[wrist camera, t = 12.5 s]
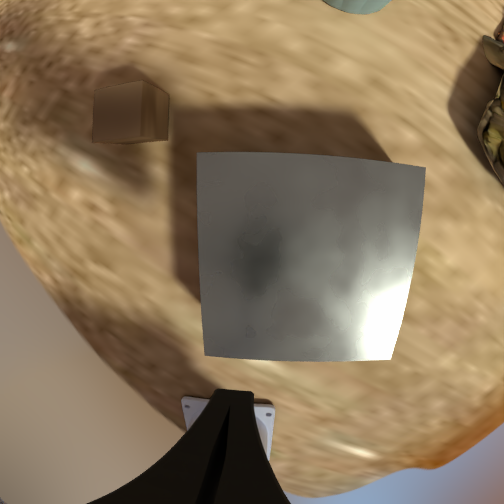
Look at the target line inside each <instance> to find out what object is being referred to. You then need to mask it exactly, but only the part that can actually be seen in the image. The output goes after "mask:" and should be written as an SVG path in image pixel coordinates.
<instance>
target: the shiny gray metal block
mask: <svg viewBox="0 0 504 504" xmlns="http://www.w3.org/2000/svg"><path fill="white" fill-rule="evenodd" d="M425 171H426V168H425V167H419V166H413V165H406V164H399V163H392V162H385V161H377V160H368V159H359V158H350V157H339V156H327V155H313V154H296V153H271V152H198V153H197V226H198V256H199V278H200V297H201V313H202V327H203V340H204V353H205V356H214V357H225V358H238V359H253V360H272V361H314V362H325V361H366V360H384V359H390V358H391V355H392V352H393V349H394V345H395V342H396V339H397V335H398V332H399V328H400V324H401V321H402V317H403V313H404V309H405V305H406V301H407V296H408V292H409V287H410V283H411V278H412V273H413V268H414V262H415V257H416V251H417V245H418V238H419V232H420V224H421V216H422V207H423V197H424V186H425Z"/></svg>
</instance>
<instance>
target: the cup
mask: <svg viewBox="0 0 504 504" xmlns="http://www.w3.org/2000/svg"><path fill="white" fill-rule="evenodd" d="M323 1H325V2H326V3H327V4H329V5H331V6H332V7H334V8H337V9H339V10H342V11H345V12H348V13H354V14H370V13H374V12H377V11H379V10H381V9H382V8H383V7H385V6H386V5H387V4H388V3H389V2H390V1H391V0H323Z"/></svg>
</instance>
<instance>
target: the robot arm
mask: <svg viewBox="0 0 504 504" xmlns="http://www.w3.org/2000/svg"><path fill="white" fill-rule="evenodd" d="M181 403H182V408H183V413H184V418H185V422H186V427H187V432H186V433H185V434H184V435H183V436H182V437H181V439H180V440H179V441H178V442H177V443H176V444H175V445H174V446H173V447H172V448H171V449H170V450H169V451H168V452H167V453H166V454H165V455H164V456H163V457H162V458H161V459H160V460H158V461H157V462H156V463H155V464H154V465H152V466H151V467H150V468H149V469H147V470H146V471H145V472H143V473H142V474H141V475H140V476H138V477H136V478H135V479H134V480H132V481H130V482H129V483H127V484H125V485H124V486H122V487H120V488H119V489H117V490H115V491H113V492H111V493H109V494H107V495H105V496H103V497H101V498H99V499H97V500H94V501H92V502H90V503H87V504H291V503H290V502H289V500H288V499H287V497H286V495H285V494H284V492H283V490H282V488H281V486H280V484H279V483H278V481H277V479H276V477H275V474H274V472H273V470H272V468H271V466H270V463H269V459H270V451H271V442H272V434H273V425H274V416H275V407H274V406H273V405H270V404H254V393H252V392H251V391H239V390H227V389H216V390H215V391H214V393H213V395H212V397H211V399H210V400H209V399H201V398H194V397H183V398H182V400H181ZM188 405H189V406H188ZM0 504H7V503H5V502H4V501H3V500H2V499H1V498H0Z"/></svg>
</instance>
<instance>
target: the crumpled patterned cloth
mask: <svg viewBox="0 0 504 504" xmlns="http://www.w3.org/2000/svg"><path fill="white" fill-rule="evenodd" d="M499 34H500V36H499V37H498V38H497V39H496V40H494V39H492V38H490V37H488V36H485V35H484V36H483V49H484V53H485V55H486V57H487V59H488V61H489V62H490V63H491V64H493V65H494V66H497V67H499V68H500V69H502V70H504V53H503V52H504V25H503V28H502V31H501V33H500V32H499V33H498V35H499ZM477 137H478V139H479V141H480V143H481V145H482V147H483V150H484V152H485V154H486V156H487V158H488V160H489V162H490V164H491V166H492V168H493V170H494V172H495V173H496V175H497V176H498V178H499V179H500V181H501V182H502V184H503V185H504V73H503V76H502V79H501V82H500V85H499V88H498V91H497V94H496V96H495V98H494V99H493V100H491V101H488V102H487V105H486V110H485V111H484V113H483V116H482V118H481V120H480V124H479V126H478V129H477Z"/></svg>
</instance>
